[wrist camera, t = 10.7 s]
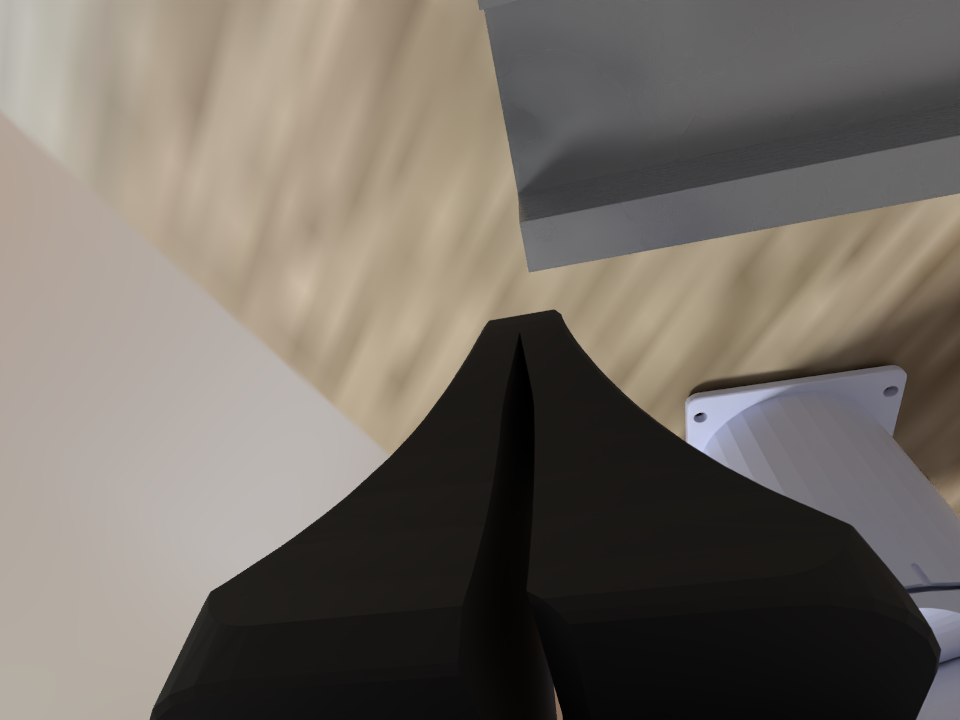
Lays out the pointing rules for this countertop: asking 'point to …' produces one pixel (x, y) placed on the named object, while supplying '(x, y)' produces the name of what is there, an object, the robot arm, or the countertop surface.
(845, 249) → the countertop surface
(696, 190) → the rail
